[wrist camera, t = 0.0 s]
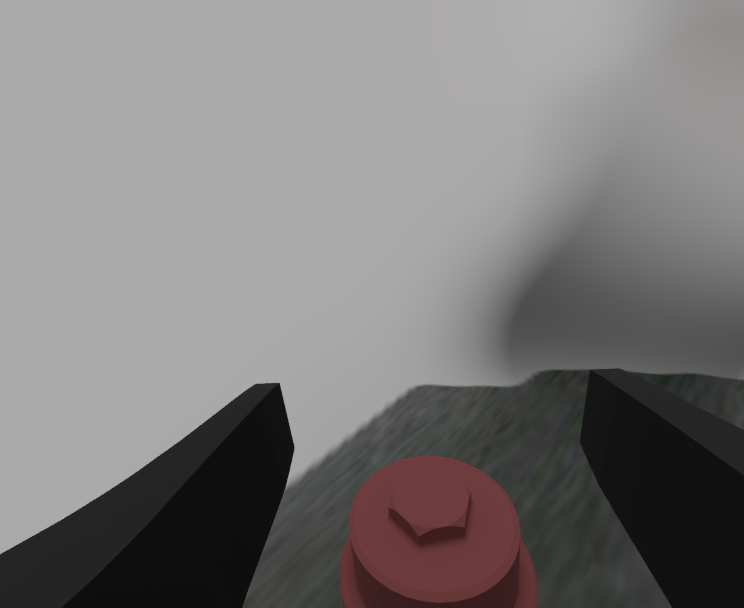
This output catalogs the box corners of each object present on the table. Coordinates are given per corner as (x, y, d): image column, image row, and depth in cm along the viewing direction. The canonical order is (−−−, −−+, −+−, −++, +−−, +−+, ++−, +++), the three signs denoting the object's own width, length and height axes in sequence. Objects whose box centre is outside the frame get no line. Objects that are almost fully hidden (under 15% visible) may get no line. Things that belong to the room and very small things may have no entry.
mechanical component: (388, 558, 28) (531, 604, 24) (324, 732, 19) (531, 847, 15) (374, 420, 24) (539, 447, 21) (286, 557, 16) (545, 650, 12)
